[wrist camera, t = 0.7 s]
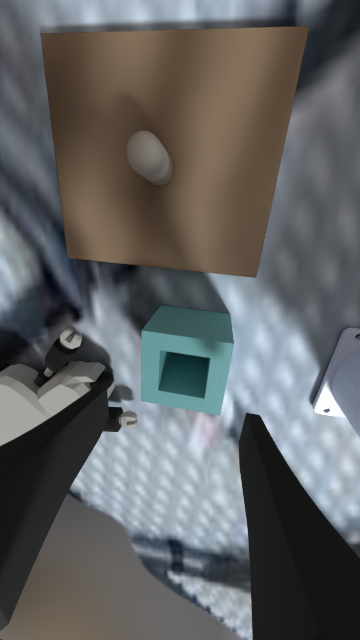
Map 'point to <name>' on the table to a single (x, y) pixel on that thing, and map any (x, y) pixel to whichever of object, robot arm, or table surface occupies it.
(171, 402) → the collar
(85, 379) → the robot toy
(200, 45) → the stub base
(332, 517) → the table surface
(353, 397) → the robot arm
